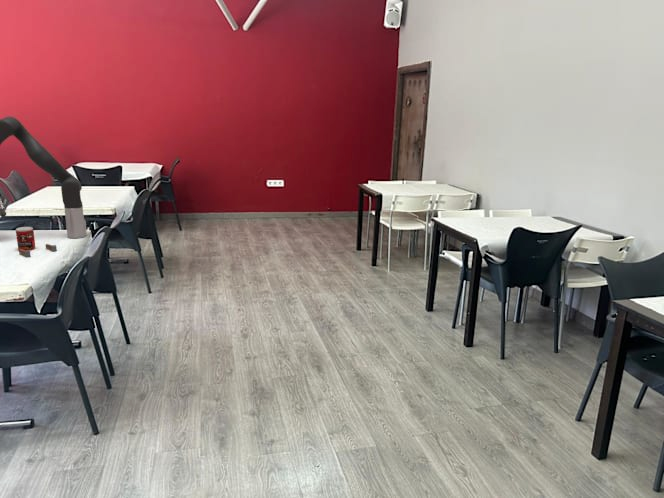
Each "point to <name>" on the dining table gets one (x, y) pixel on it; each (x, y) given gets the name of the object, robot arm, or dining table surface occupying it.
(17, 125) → the robot arm
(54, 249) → the posts
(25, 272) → the dining table surface
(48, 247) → the channel walls
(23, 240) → the canned food
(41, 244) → the dining table surface
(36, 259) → the dining table surface
